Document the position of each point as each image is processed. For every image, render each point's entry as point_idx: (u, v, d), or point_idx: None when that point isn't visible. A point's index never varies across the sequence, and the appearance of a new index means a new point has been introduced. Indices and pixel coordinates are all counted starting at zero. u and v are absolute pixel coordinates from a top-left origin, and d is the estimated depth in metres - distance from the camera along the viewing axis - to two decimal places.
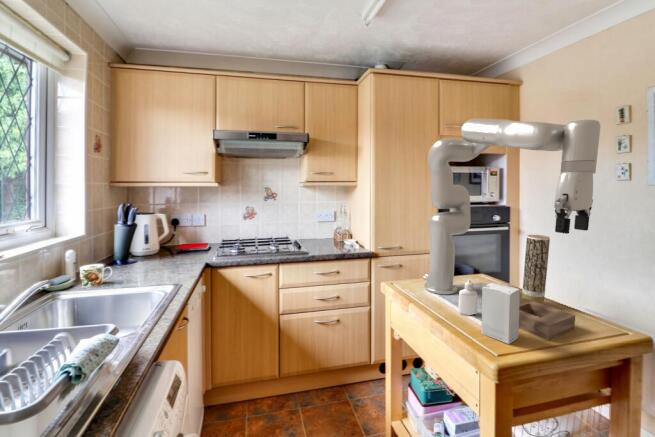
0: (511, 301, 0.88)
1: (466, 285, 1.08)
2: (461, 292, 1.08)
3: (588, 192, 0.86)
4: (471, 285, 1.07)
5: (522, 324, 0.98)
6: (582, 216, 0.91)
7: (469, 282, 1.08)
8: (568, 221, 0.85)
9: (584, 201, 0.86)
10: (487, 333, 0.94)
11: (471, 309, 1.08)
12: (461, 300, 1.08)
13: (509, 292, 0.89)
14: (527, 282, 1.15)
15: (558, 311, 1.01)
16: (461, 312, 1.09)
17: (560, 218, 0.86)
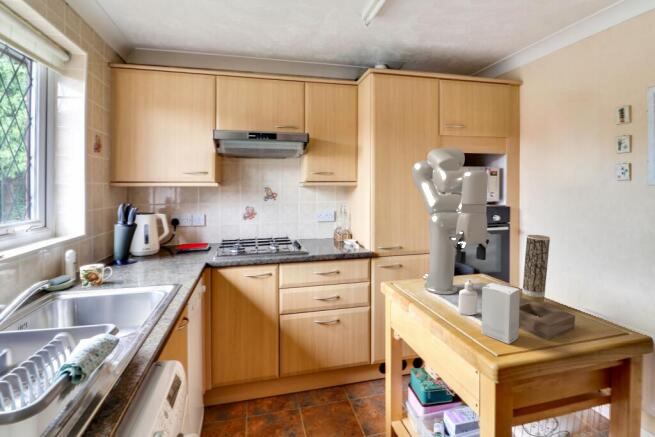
0: (511, 301, 0.88)
1: (466, 285, 1.08)
2: (461, 292, 1.08)
3: (481, 229, 1.04)
4: (471, 285, 1.07)
5: (522, 324, 0.98)
6: (481, 248, 1.08)
7: (469, 282, 1.08)
8: (464, 254, 1.03)
9: (478, 237, 1.04)
10: (487, 333, 0.94)
11: (471, 309, 1.08)
12: (461, 300, 1.08)
13: (509, 292, 0.89)
14: (527, 282, 1.15)
15: (558, 311, 1.01)
16: (461, 312, 1.09)
17: (458, 251, 1.04)
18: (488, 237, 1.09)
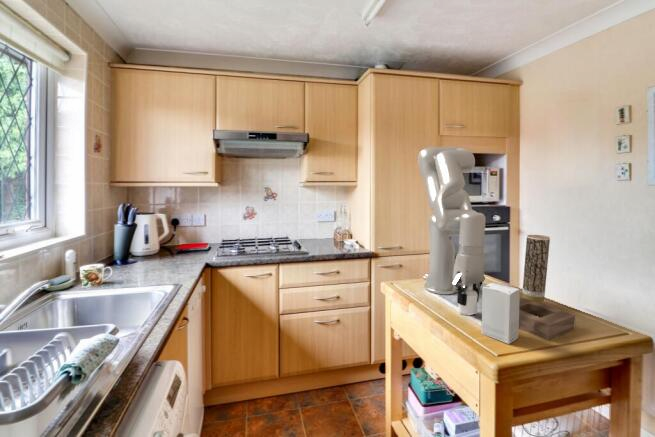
0: (511, 301, 0.88)
1: None
2: None
3: (478, 270, 1.06)
4: (471, 285, 1.07)
5: (522, 324, 0.98)
6: (474, 290, 1.10)
7: None
8: (465, 296, 1.06)
9: (475, 277, 1.06)
10: (487, 333, 0.94)
11: (471, 309, 1.08)
12: None
13: (509, 292, 0.89)
14: (527, 282, 1.15)
15: (558, 311, 1.01)
16: (461, 312, 1.09)
17: (459, 293, 1.07)
18: (482, 280, 1.11)
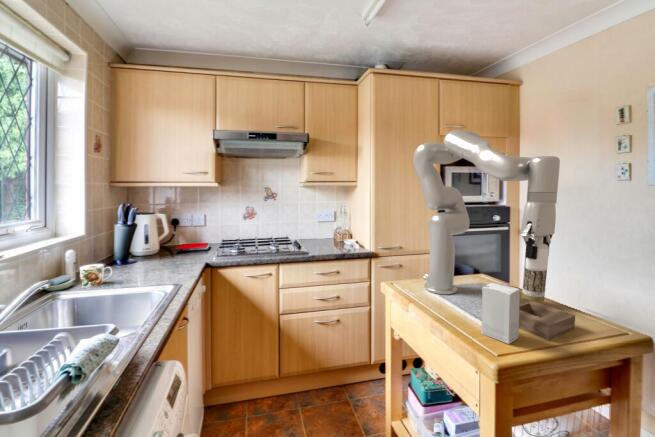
0: (511, 301, 0.88)
1: None
2: None
3: (550, 219, 0.96)
4: (542, 237, 0.98)
5: (522, 324, 0.98)
6: None
7: None
8: (536, 248, 0.96)
9: (547, 228, 0.96)
10: (487, 333, 0.94)
11: (541, 264, 0.98)
12: None
13: (509, 292, 0.89)
14: (527, 282, 1.15)
15: (558, 311, 1.01)
16: (530, 267, 0.99)
17: (529, 246, 0.97)
18: None
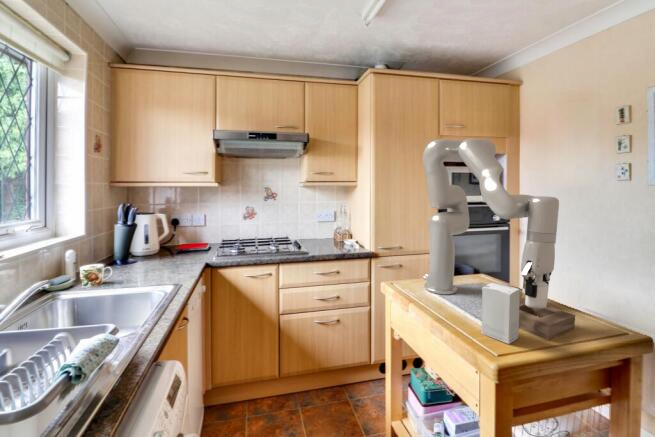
0: (511, 301, 0.88)
1: None
2: None
3: (550, 259, 0.98)
4: (541, 275, 0.99)
5: (522, 324, 0.98)
6: None
7: None
8: (535, 287, 0.98)
9: (546, 267, 0.98)
10: (487, 333, 0.94)
11: (541, 302, 0.99)
12: None
13: (509, 292, 0.89)
14: None
15: (558, 311, 1.01)
16: (530, 305, 1.00)
17: (529, 284, 0.99)
18: None
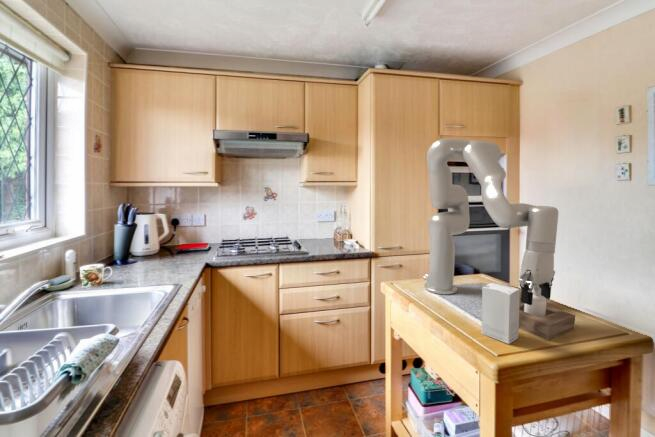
0: (511, 301, 0.88)
1: (534, 290, 1.00)
2: None
3: (549, 268, 0.98)
4: (540, 290, 1.00)
5: (522, 324, 0.98)
6: (545, 286, 1.02)
7: (537, 286, 1.00)
8: (531, 294, 0.97)
9: (545, 276, 0.98)
10: (487, 333, 0.94)
11: (539, 316, 1.00)
12: (528, 306, 1.01)
13: (509, 292, 0.89)
14: None
15: (558, 311, 1.01)
16: None
17: (524, 291, 0.98)
18: (552, 274, 1.03)
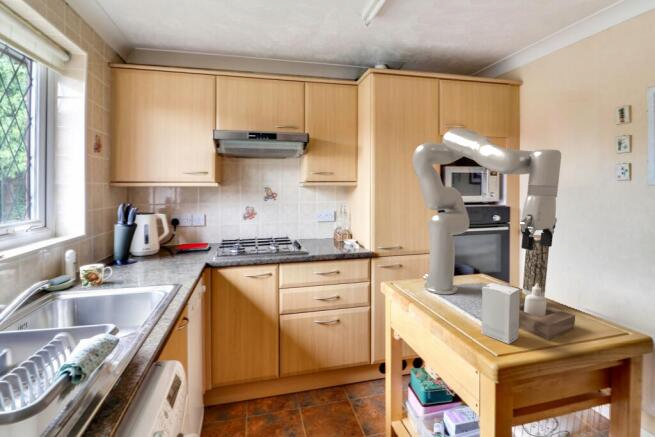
0: (511, 301, 0.88)
1: (534, 290, 1.00)
2: (528, 297, 1.01)
3: (551, 213, 0.97)
4: (540, 290, 1.00)
5: (522, 324, 0.98)
6: (546, 234, 1.01)
7: (537, 287, 1.00)
8: (532, 239, 0.96)
9: (547, 221, 0.96)
10: (487, 333, 0.94)
11: (539, 316, 1.00)
12: (528, 306, 1.01)
13: (509, 292, 0.89)
14: (527, 282, 1.15)
15: (558, 311, 1.01)
16: None
17: (525, 236, 0.96)
18: (554, 222, 1.02)
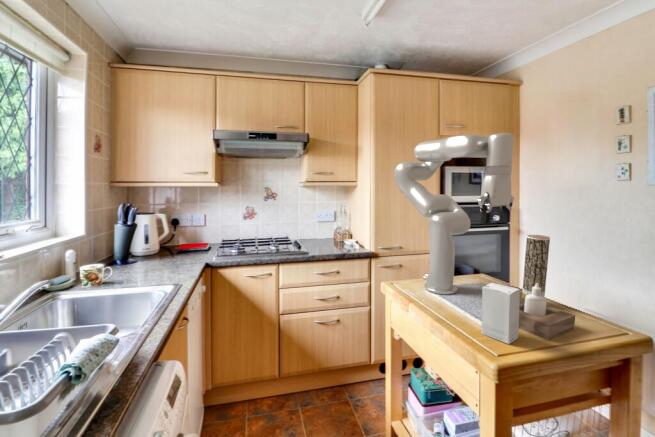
0: (511, 301, 0.88)
1: (534, 290, 1.00)
2: (528, 297, 1.01)
3: (506, 191, 1.06)
4: (540, 290, 1.00)
5: (522, 324, 0.98)
6: (504, 211, 1.11)
7: (537, 287, 1.00)
8: (489, 215, 1.05)
9: (503, 199, 1.06)
10: (487, 333, 0.94)
11: (539, 316, 1.00)
12: (528, 306, 1.01)
13: (509, 292, 0.89)
14: (527, 282, 1.15)
15: (558, 311, 1.01)
16: None
17: (483, 212, 1.06)
18: (511, 200, 1.11)
